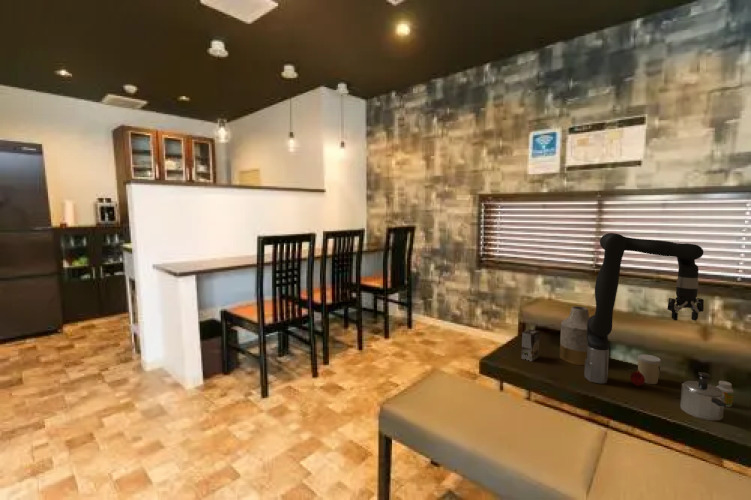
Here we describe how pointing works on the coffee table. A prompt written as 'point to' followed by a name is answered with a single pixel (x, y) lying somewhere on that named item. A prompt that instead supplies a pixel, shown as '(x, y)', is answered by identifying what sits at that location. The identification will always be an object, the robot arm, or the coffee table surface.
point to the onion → (637, 378)
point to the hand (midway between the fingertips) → (684, 320)
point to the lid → (703, 386)
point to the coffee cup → (649, 368)
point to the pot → (702, 404)
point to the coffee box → (530, 344)
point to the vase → (574, 336)
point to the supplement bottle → (726, 392)
